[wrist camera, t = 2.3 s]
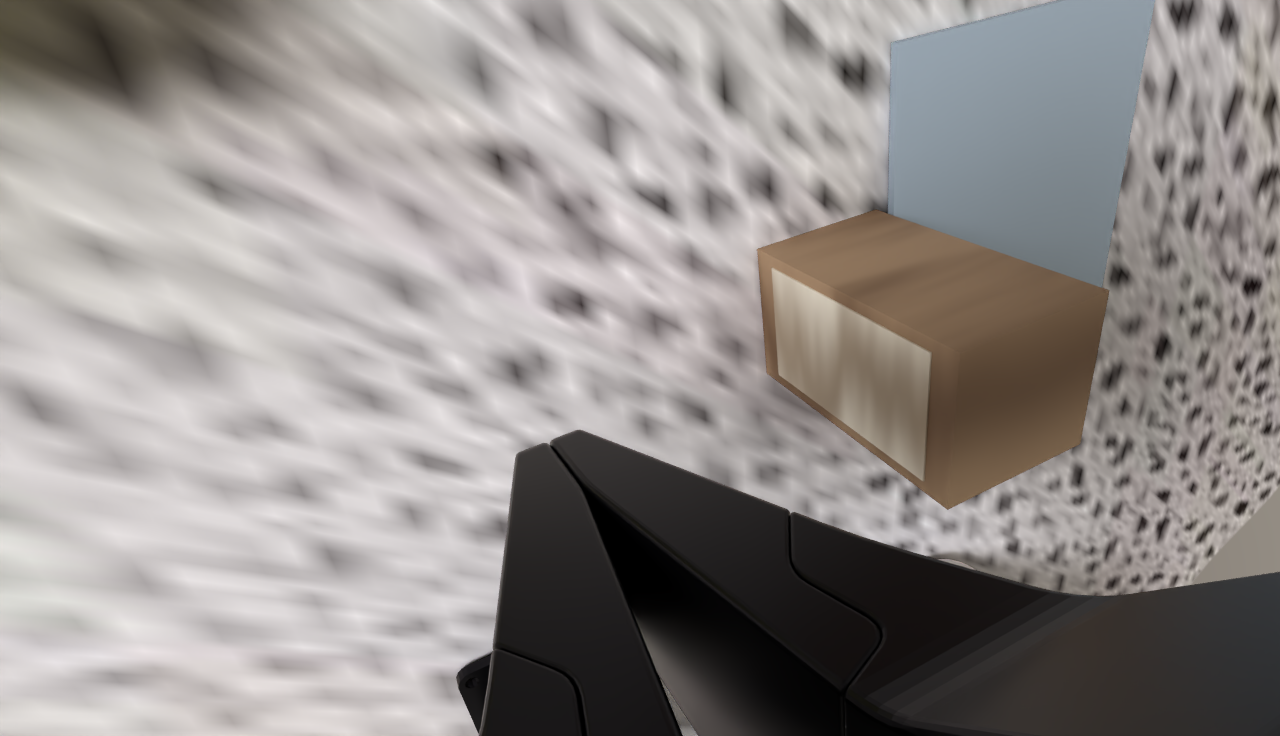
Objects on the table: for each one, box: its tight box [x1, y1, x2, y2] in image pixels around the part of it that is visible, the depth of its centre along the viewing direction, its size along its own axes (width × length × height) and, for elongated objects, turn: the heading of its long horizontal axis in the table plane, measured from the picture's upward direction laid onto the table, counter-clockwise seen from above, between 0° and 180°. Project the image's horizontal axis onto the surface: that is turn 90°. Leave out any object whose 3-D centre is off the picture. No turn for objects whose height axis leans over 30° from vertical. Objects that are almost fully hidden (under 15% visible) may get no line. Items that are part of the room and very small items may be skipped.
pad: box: [888, 0, 1155, 288], centre depth 29 cm, size 16×12×1 cm
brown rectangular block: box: [757, 210, 1109, 510], centre depth 23 cm, size 5×5×9 cm
